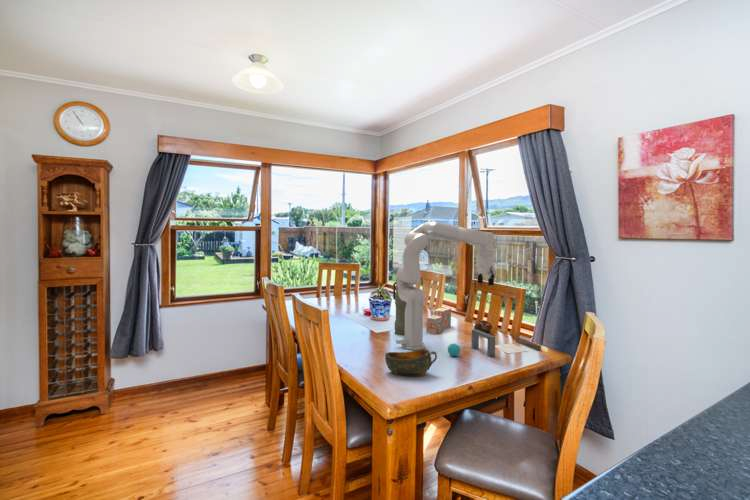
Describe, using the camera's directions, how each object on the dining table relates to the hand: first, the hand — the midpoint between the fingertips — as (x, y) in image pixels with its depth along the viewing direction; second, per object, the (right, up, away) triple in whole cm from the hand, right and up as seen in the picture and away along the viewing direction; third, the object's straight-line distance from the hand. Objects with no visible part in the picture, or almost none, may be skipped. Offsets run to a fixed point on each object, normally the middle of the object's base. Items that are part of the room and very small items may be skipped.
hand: (485, 284), depth 210 cm
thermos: (-46, -31, +11) cm, 57 cm away
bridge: (-8, -32, -23) cm, 40 cm away
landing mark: (+8, -32, -17) cm, 37 cm away
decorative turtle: (+2, -31, +11) cm, 33 cm away
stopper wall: (+19, -32, -12) cm, 39 cm away
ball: (-24, -30, -29) cm, 48 cm away
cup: (-47, -34, -51) cm, 78 cm away
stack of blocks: (-23, -31, +20) cm, 43 cm away
